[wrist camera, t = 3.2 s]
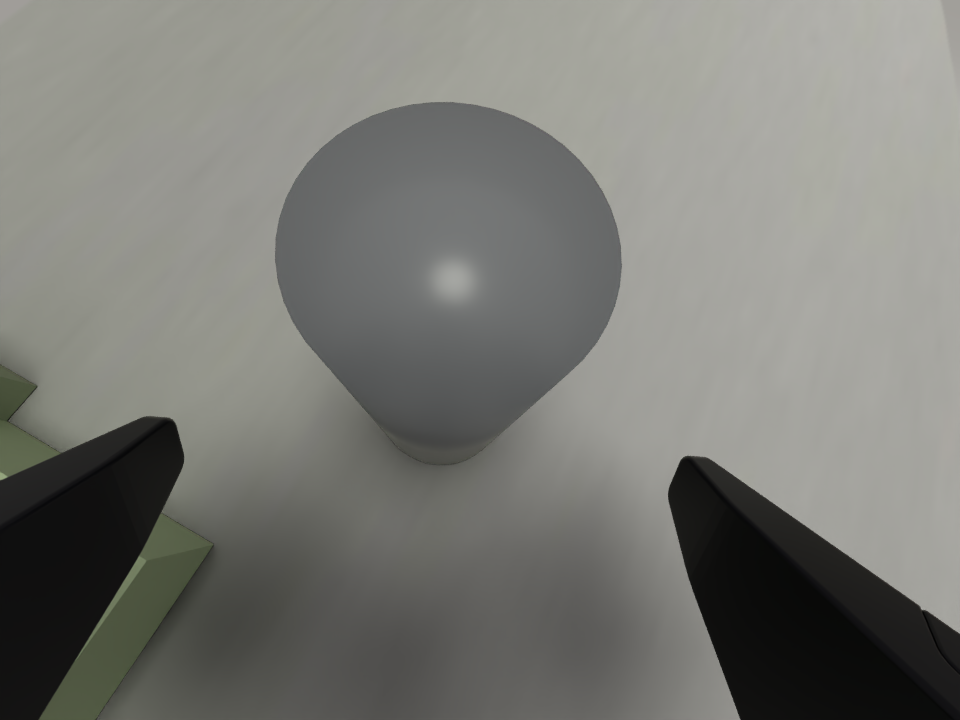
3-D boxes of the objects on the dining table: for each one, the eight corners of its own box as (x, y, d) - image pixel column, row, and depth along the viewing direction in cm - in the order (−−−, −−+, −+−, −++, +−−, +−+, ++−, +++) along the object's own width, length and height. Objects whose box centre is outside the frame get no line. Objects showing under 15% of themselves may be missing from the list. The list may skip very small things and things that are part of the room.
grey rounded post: (525, 379, 19) (670, 196, 7) (466, 488, 18) (529, 484, 6) (420, 321, 20) (396, 53, 8) (354, 425, 18) (198, 297, 6)
